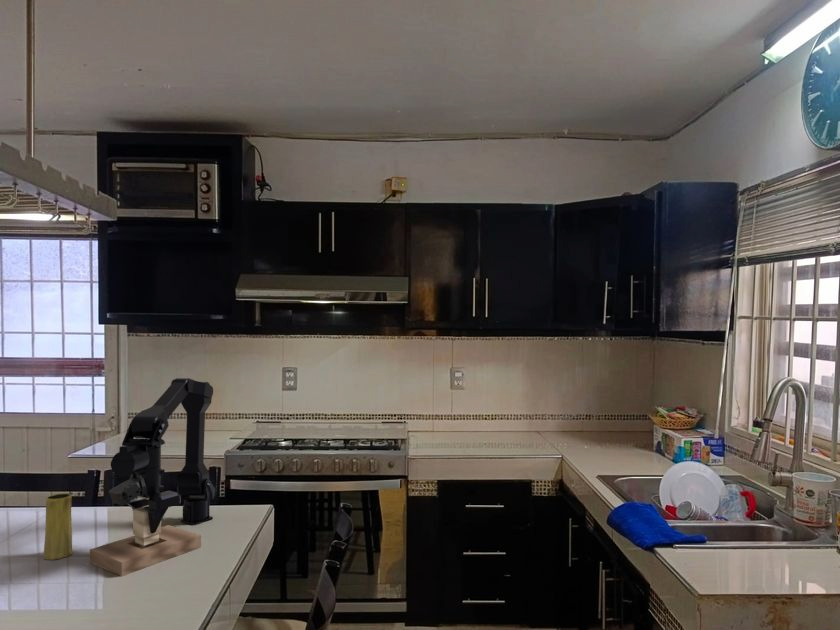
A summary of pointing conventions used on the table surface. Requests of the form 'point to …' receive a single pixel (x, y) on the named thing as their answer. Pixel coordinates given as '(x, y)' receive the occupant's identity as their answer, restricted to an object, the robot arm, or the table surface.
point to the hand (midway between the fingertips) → (147, 530)
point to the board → (144, 551)
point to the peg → (143, 527)
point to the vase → (58, 527)
